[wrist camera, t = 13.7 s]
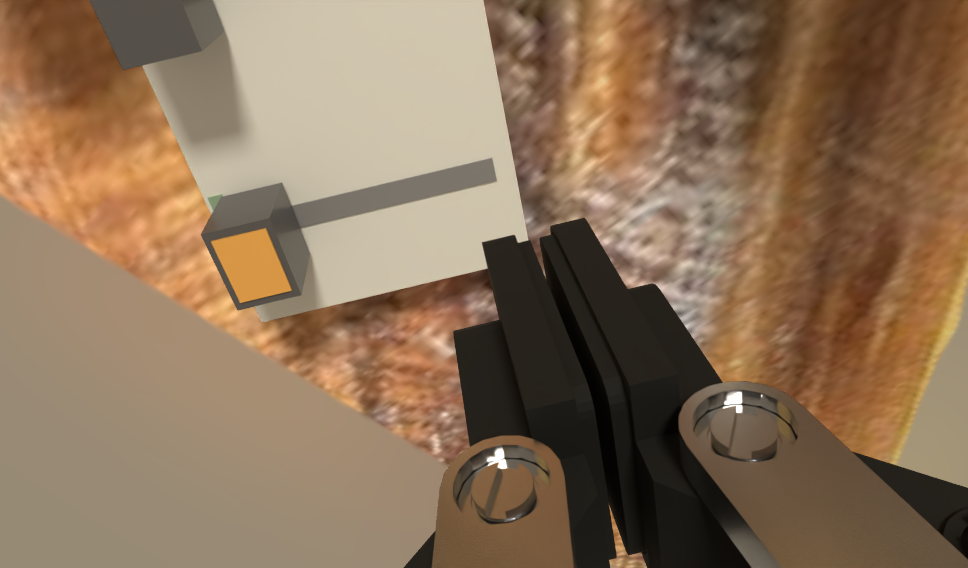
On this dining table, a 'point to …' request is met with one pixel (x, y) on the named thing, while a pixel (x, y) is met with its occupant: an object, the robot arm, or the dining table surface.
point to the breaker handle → (157, 28)
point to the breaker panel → (354, 135)
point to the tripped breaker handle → (257, 246)
